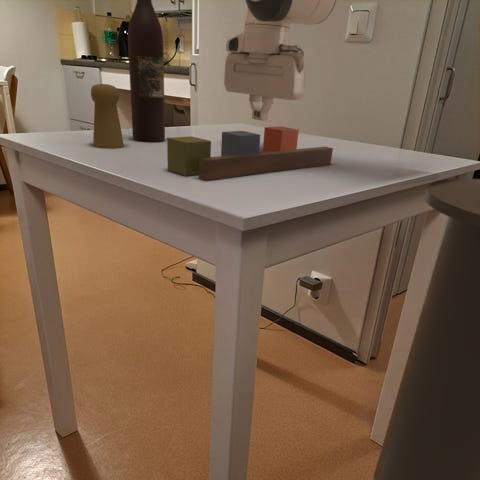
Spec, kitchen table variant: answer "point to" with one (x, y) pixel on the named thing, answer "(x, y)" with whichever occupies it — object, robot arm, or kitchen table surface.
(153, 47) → the wine bottle
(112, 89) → the cork
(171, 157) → the olive block
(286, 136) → the terracotta block
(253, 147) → the slate-blue block
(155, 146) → the kitchen table surface
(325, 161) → the straightedge
